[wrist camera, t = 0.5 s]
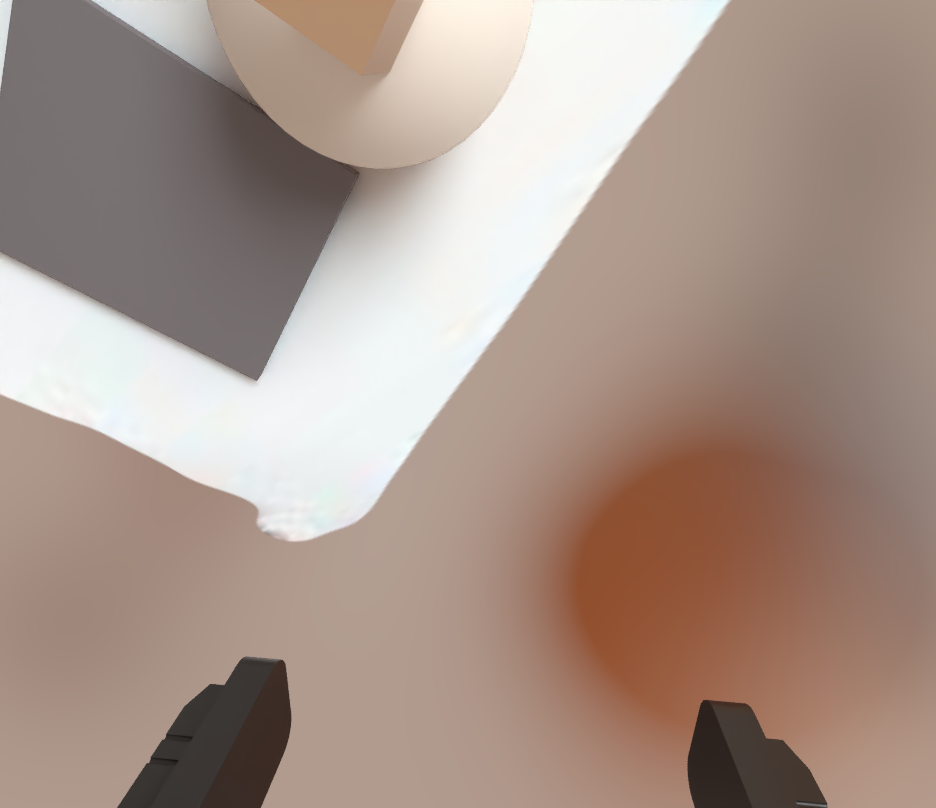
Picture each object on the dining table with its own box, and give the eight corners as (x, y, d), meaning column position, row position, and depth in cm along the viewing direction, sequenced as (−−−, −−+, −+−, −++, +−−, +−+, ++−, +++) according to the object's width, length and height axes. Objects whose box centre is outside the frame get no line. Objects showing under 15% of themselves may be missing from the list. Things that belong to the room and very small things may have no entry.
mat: (-10, 237, 34) (-20, 241, 33) (30, -39, 26) (18, -42, 26) (260, 374, 39) (256, 380, 38) (359, 173, 31) (356, 175, 31)
